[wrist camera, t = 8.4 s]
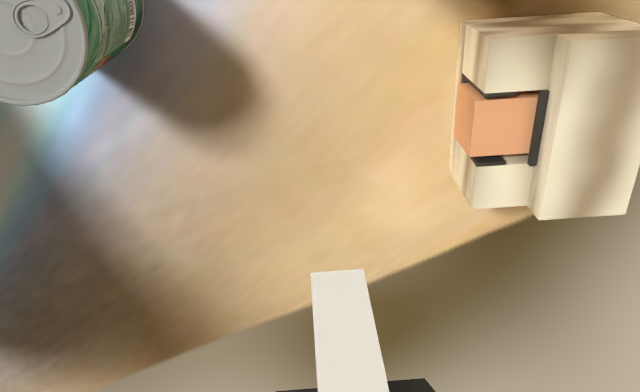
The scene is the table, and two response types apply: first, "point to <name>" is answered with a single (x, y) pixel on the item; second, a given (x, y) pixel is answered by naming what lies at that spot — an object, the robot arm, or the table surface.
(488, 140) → the peg
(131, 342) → the table surface
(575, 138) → the sleeve
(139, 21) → the canned tomato
